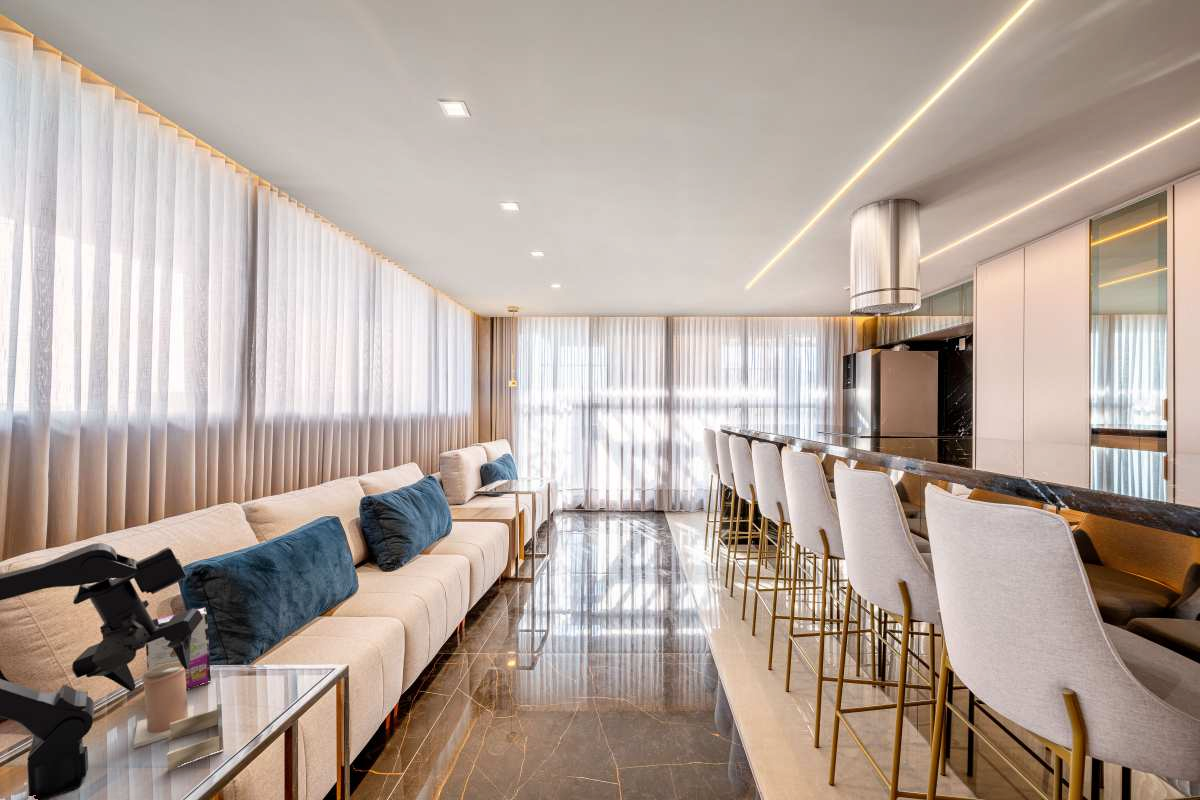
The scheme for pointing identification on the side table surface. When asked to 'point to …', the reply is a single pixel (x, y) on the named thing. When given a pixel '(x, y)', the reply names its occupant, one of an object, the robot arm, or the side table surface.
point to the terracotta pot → (165, 696)
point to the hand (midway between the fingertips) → (160, 678)
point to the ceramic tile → (148, 737)
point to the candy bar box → (199, 652)
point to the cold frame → (194, 725)
